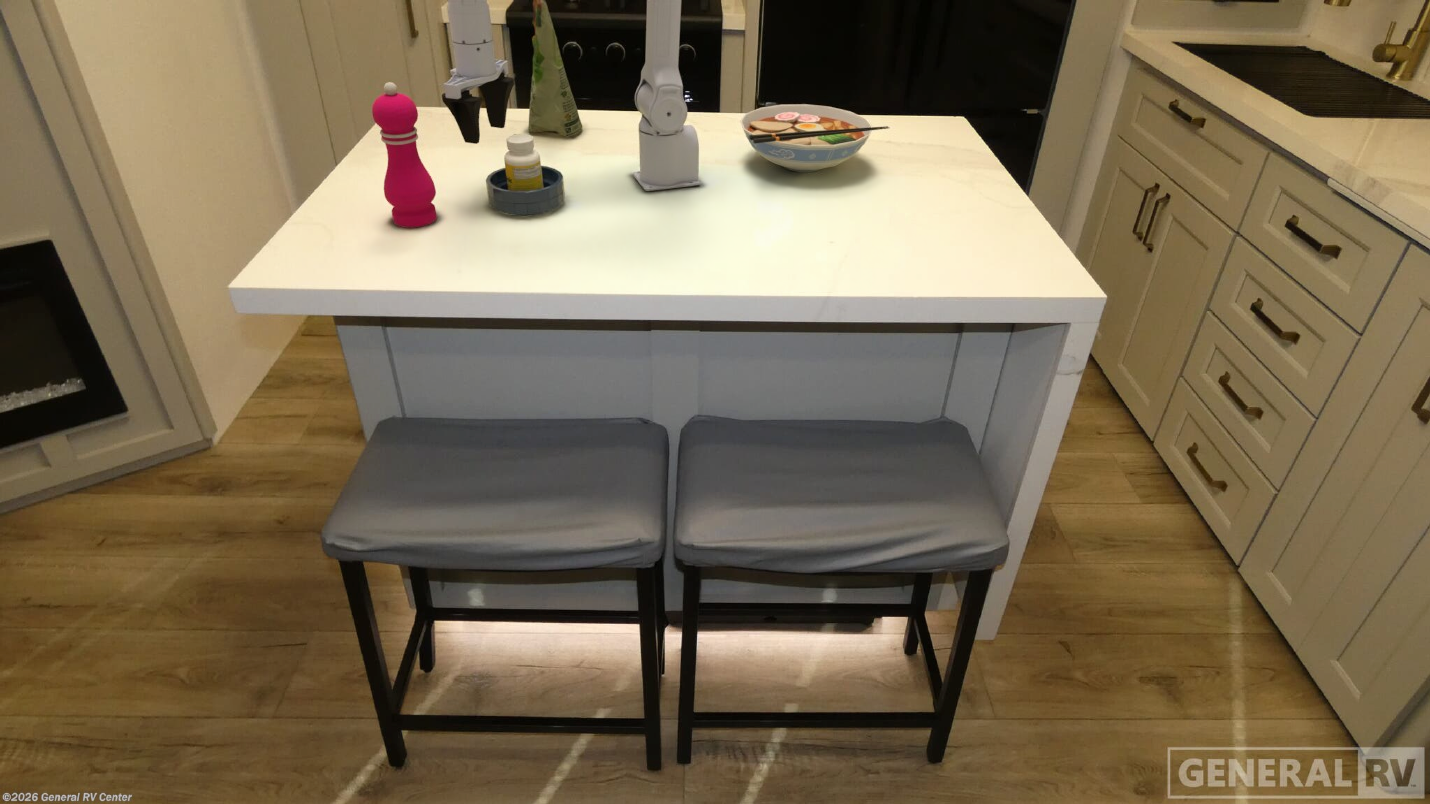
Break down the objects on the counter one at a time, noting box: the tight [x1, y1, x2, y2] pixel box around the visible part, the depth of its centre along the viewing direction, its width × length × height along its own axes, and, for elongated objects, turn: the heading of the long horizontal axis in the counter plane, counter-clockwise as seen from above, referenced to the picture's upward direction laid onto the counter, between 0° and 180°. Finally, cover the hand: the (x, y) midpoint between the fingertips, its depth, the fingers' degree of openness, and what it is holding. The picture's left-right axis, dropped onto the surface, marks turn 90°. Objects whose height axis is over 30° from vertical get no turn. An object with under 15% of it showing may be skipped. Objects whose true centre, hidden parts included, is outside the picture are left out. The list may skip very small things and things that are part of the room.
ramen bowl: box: [739, 103, 890, 173], centre depth 150 cm, size 25×23×8 cm
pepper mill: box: [371, 81, 438, 228], centre depth 124 cm, size 7×7×20 cm
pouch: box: [527, 0, 583, 137], centre depth 157 cm, size 11×12×25 cm
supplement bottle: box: [503, 133, 543, 191], centre depth 132 cm, size 5×5×10 cm
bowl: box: [485, 165, 566, 217], centre depth 134 cm, size 12×12×4 cm
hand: (485, 134), depth 131 cm, fingers open, 7 cm apart
